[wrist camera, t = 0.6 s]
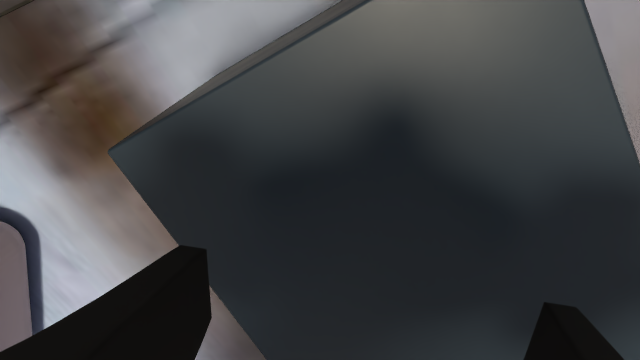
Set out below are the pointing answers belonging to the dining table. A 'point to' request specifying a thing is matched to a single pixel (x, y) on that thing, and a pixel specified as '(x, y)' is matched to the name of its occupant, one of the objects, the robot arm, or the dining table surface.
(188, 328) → the robot arm
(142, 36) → the dining table surface
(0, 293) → the pinkish grey angular block
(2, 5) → the cabinet
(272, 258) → the cabinet
